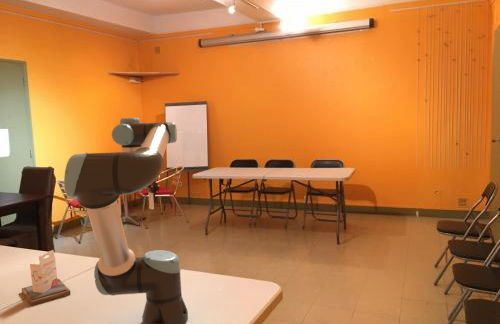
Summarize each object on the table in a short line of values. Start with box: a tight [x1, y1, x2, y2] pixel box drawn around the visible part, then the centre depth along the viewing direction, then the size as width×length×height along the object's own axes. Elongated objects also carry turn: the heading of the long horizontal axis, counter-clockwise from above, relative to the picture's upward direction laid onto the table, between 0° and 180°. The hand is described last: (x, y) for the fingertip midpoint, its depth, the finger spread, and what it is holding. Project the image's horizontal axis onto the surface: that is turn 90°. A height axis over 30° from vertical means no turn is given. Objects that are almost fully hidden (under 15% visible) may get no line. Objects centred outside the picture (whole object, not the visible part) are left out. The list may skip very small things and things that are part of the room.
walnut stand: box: [21, 278, 71, 307], centre depth 165 cm, size 16×14×2 cm
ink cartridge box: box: [29, 249, 58, 293], centre depth 164 cm, size 9×5×15 cm, turn 166°
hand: (135, 211), depth 164 cm, fingers open, 13 cm apart
